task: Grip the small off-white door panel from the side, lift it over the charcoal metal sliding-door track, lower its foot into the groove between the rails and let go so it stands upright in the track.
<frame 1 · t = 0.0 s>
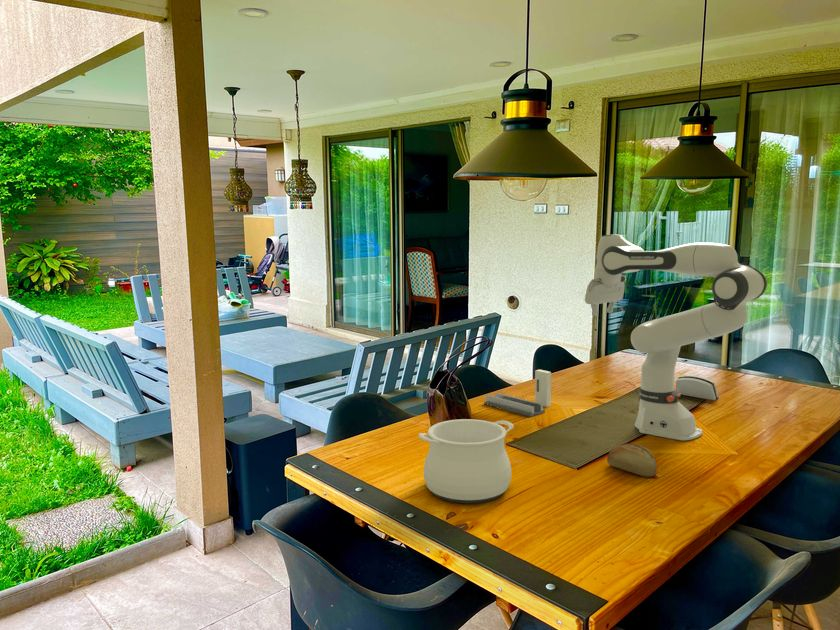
hand: (602, 313, 243), 39 cm above the table, tool pointing down, fingers open, 8 cm apart
white curved block: (695, 397, 271), on the table
door panel: (542, 404, 262), on the table
bread roll: (631, 471, 192), on the table
track: (513, 408, 258), on the table
pot: (467, 489, 181), on the table
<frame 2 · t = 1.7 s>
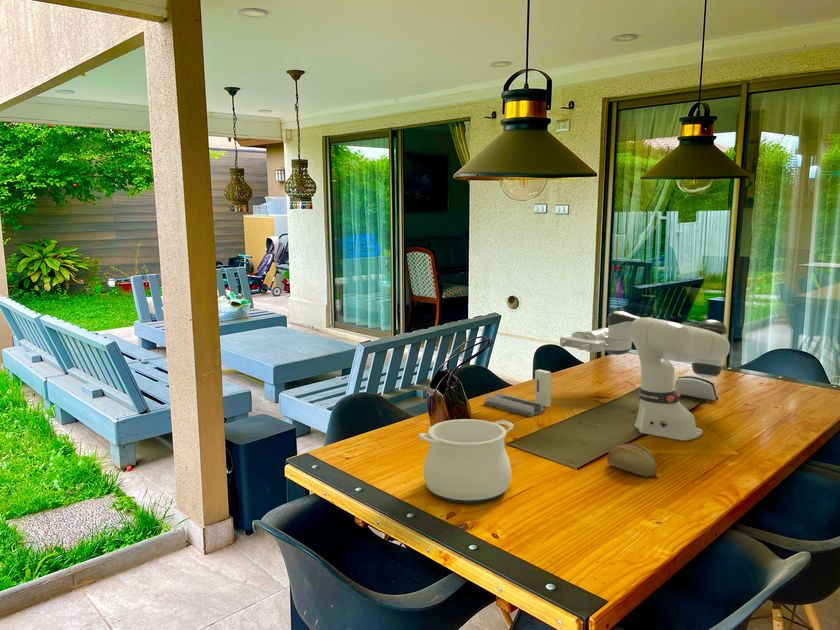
hand: (570, 346, 269), 22 cm above the table, tool horizontal, fingers open, 8 cm apart
nothing on the table moved.
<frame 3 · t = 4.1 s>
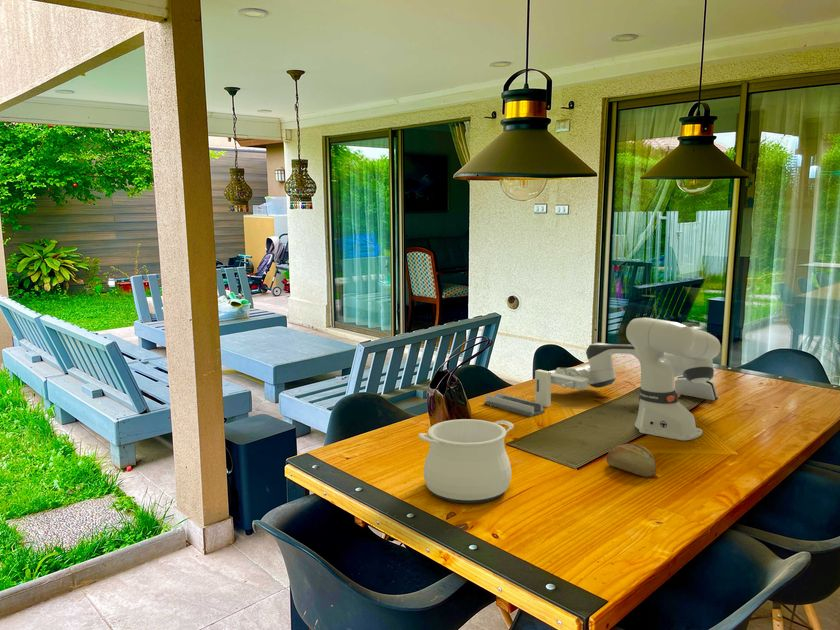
hand: (554, 383, 266), 7 cm above the table, tool horizontal, fingers open, 8 cm apart
nothing on the table moved.
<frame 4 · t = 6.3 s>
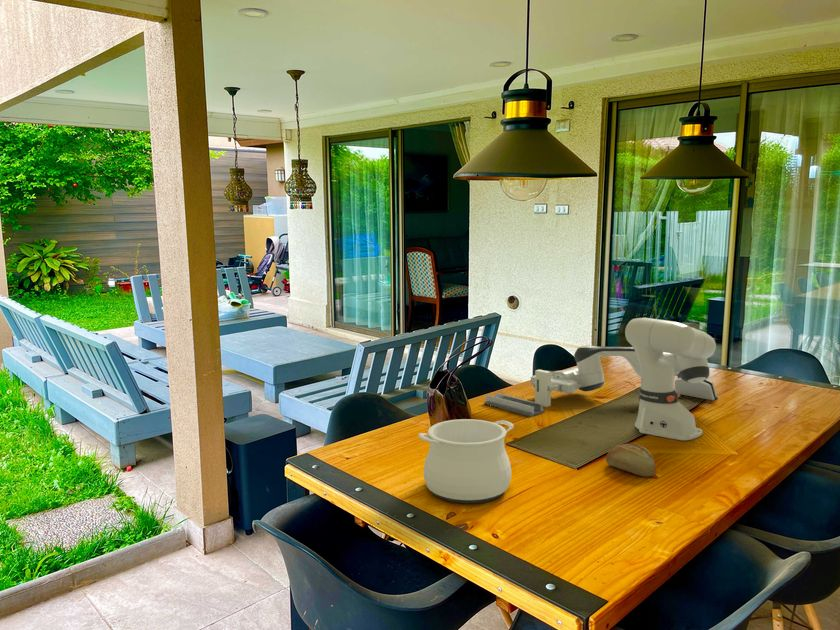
hand: (541, 387, 260), 8 cm above the table, tool horizontal, fingers closed on door panel, 6 cm apart
door panel: (542, 404, 262), on the table, touching gripper
everything else where it was.
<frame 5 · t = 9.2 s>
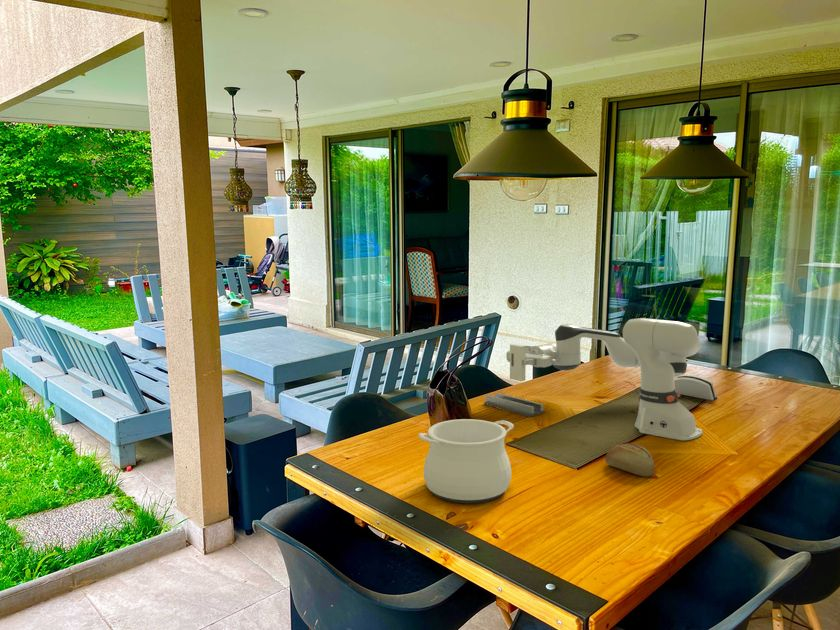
hand: (516, 361, 256), 19 cm above the table, tool horizontal, fingers closed on door panel, 6 cm apart
door panel: (517, 379, 257), point 11 cm above the table, touching gripper
everything else where it was.
when the fingers open (10 cm above the table, at t = 12.1 s): door panel drops 1 cm, resting on track.
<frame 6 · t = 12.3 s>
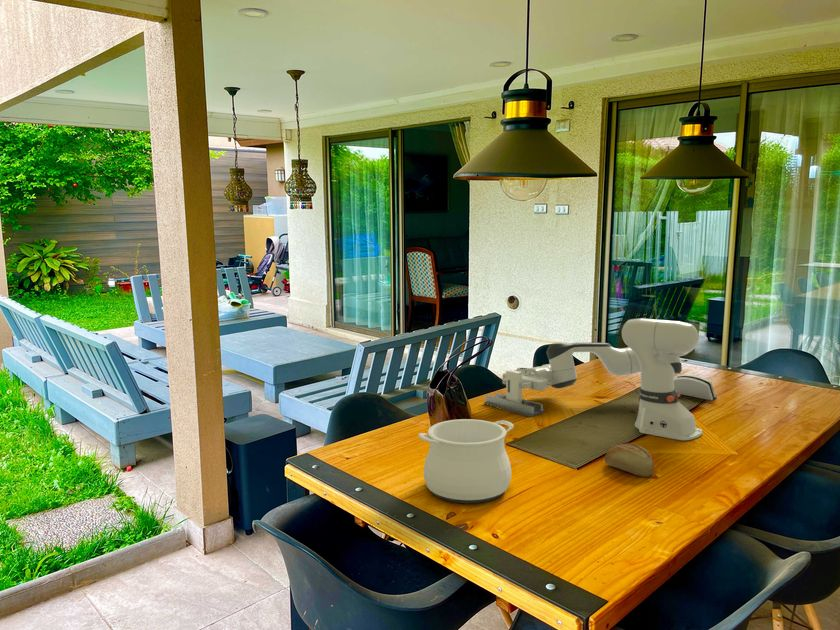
hand: (512, 384, 256), 10 cm above the table, tool horizontal, fingers open, 8 cm apart
door panel: (513, 405, 258), point 1 cm above the table, touching track
everything else where it was.
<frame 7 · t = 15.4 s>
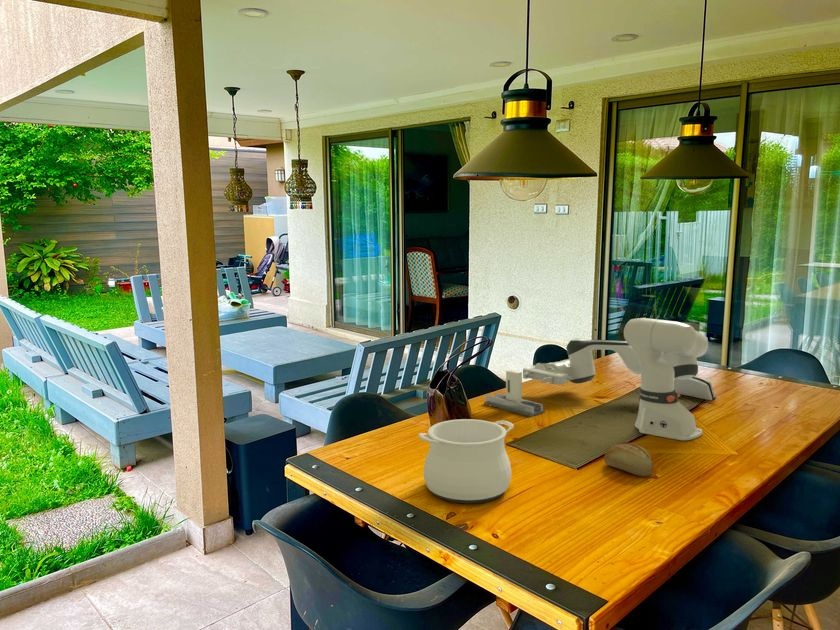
hand: (533, 378, 264), 10 cm above the table, tool horizontal, fingers open, 8 cm apart
nothing on the table moved.
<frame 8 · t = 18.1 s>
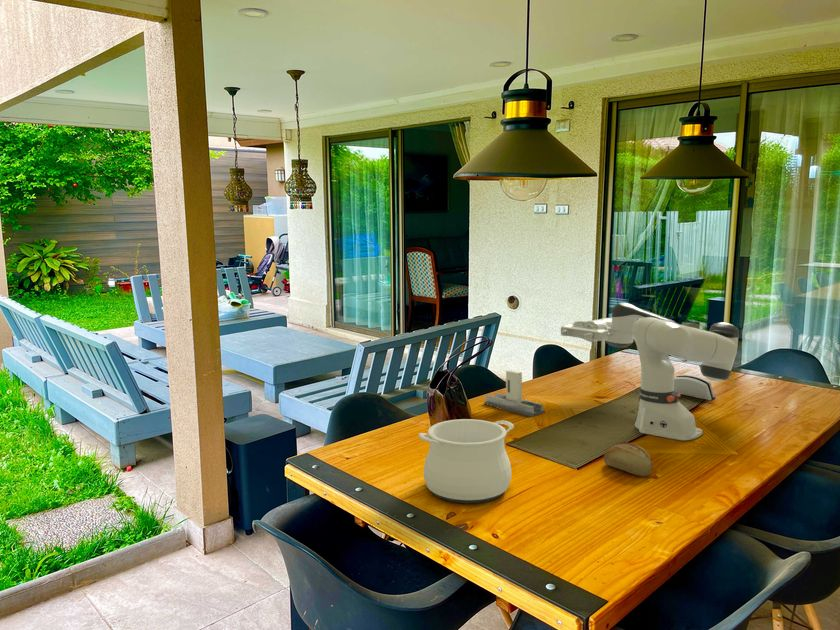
hand: (572, 335, 260), 28 cm above the table, tool horizontal, fingers open, 8 cm apart
at the end: door panel inside the target area on the track (0.0 cm from its centre), point 1.0 cm above the track's base; door panel tilted 0°; the gripper is holding nothing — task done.
